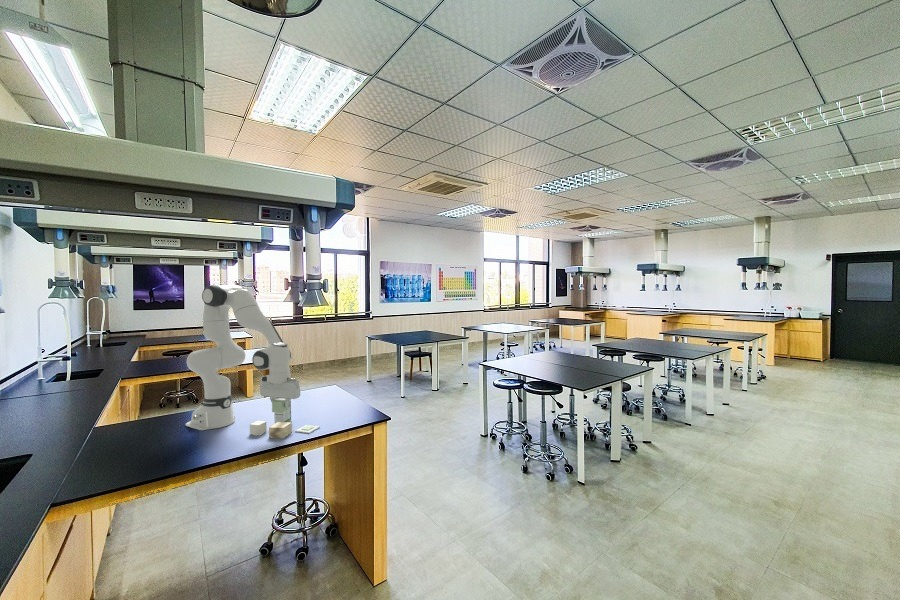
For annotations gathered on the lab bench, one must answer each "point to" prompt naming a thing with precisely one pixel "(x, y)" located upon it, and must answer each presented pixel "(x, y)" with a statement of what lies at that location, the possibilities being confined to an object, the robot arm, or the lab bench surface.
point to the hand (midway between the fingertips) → (280, 406)
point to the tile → (307, 429)
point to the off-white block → (258, 427)
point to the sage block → (279, 405)
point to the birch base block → (280, 429)
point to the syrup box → (283, 414)
